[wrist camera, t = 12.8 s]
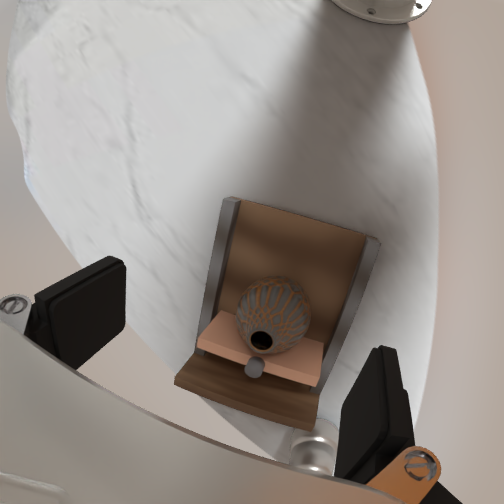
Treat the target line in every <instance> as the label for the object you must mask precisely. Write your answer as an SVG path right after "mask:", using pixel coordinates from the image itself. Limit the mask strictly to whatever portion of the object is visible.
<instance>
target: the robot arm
mask: <svg viewBox="0 0 504 504" xmlns="http://www.w3.org/2000/svg"><path fill="white" fill-rule="evenodd" d="M332 1H333V2H334V3H335V4H336V5H338V6H339V7H340V8H342V9H343V10H345V11H347V12H349V13H350V14H353V15H355V16H357V17H359V18H362V19H365V20H369V21H372V22H378V23H383V24H399V23H406V22H410V21H413V20H415V19H417V18H419V17H421V16H422V15H423V14H424V13H425V12H426V11H427V10H428V8H429V6H430V5H431V2H432V0H332ZM371 14H372V15H371ZM34 296H35V303H34V304H32V302H31V300H30V299H29V298H28V297H27V296H24V295H20V294H12V295H8V296H5V297H3V298H2V299H0V504H462V503H461V502H460V501H459V500H458V499H457V498H455V497H454V496H453V495H452V494H451V493H450V492H449V491H448V490H447V489H446V488H445V487H444V486H442V485H441V484H440V483H439V482H438V481H437V480H438V479H439V477H440V474H441V465H440V462H439V460H438V459H437V457H436V456H435V455H434V454H433V453H432V452H431V451H430V450H428V449H426V448H423V447H420V446H415V440H414V432H413V424H412V417H411V411H410V404H409V398H408V393H407V391H406V390H405V389H403V384H402V378H401V372H400V367H399V361H398V356H397V351H396V349H394V348H390V347H386V346H383V345H380V346H379V347H378V349H377V348H373V349H372V351H371V353H370V355H369V357H368V358H367V360H366V362H365V364H364V366H363V368H362V370H361V372H360V374H359V376H358V378H357V379H356V381H355V383H354V385H353V387H352V388H351V390H350V392H349V394H348V396H347V397H346V399H345V401H344V403H343V405H342V409H341V419H340V429H339V439H338V448H337V456H336V464H335V472H334V476H330V475H326V474H322V473H318V472H314V471H310V470H306V469H302V468H298V467H294V466H291V465H287V464H284V463H281V462H277V461H274V460H271V459H267V458H264V457H260V456H257V455H255V454H251V453H248V452H245V451H242V450H240V449H237V448H234V447H231V446H228V445H226V444H223V443H220V442H218V441H215V440H212V439H210V438H207V437H205V436H202V435H200V434H198V433H195V432H193V431H190V430H188V429H186V428H183V427H181V426H179V425H177V424H174V423H172V422H170V421H168V420H166V419H163V418H161V417H159V416H157V415H155V414H153V413H151V412H149V411H147V410H145V409H143V408H141V407H139V406H137V405H135V404H133V403H131V402H129V401H127V400H126V399H124V398H122V397H120V396H118V395H116V394H115V393H113V392H111V391H109V390H107V389H106V388H104V387H102V386H101V385H99V384H97V383H96V382H94V381H92V380H91V379H89V378H87V377H86V376H84V375H82V374H81V373H79V372H78V371H76V370H77V369H78V368H79V367H80V366H81V365H83V364H84V363H85V362H86V361H87V360H88V359H90V358H91V357H92V356H93V355H94V354H95V353H96V352H98V351H99V350H100V349H101V348H103V347H104V346H105V345H106V344H107V343H108V342H110V341H111V340H112V339H113V338H114V337H115V336H117V335H118V334H119V333H120V332H121V331H122V330H123V329H124V327H125V304H126V266H125V265H124V262H123V261H122V260H120V259H118V258H115V257H113V256H107V257H105V258H103V259H101V260H99V261H97V262H95V263H93V264H91V265H89V266H87V267H85V268H83V269H81V270H79V271H78V272H76V273H74V274H72V275H70V276H68V277H66V278H64V279H63V280H60V281H59V282H57V283H55V284H53V285H51V286H49V287H47V288H46V289H44V290H42V291H40V292H39V293H37V294H35V295H34Z"/></svg>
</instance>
